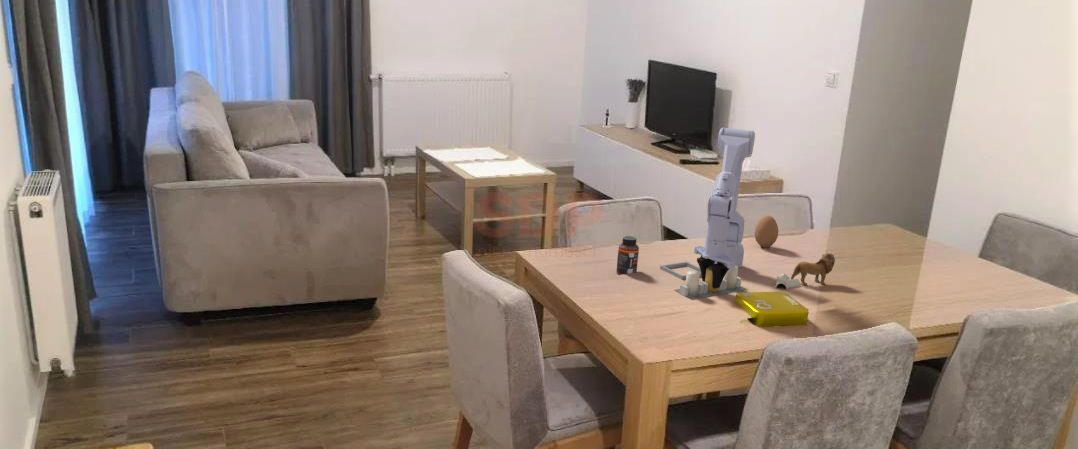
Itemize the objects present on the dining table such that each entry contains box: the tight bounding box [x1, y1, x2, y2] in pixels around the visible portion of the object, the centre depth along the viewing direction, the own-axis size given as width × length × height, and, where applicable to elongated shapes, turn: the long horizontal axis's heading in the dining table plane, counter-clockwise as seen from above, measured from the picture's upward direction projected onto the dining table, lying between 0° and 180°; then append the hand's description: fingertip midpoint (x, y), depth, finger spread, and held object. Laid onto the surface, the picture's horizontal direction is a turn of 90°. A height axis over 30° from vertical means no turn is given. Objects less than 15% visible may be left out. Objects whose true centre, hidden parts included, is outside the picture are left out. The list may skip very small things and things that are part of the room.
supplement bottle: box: [616, 235, 640, 276], centre depth 251 cm, size 6×6×11 cm
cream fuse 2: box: [723, 265, 739, 289], centre depth 242 cm, size 4×4×6 cm
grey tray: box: [659, 261, 702, 280], centre depth 253 cm, size 10×10×2 cm
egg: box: [754, 215, 779, 249], centre depth 286 cm, size 8×8×11 cm
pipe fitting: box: [774, 273, 802, 291], centre depth 247 cm, size 8×4×7 cm
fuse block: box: [673, 275, 747, 301], centre depth 239 cm, size 20×8×4 cm, turn 121°
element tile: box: [734, 291, 809, 328], centre depth 227 cm, size 15×15×5 cm
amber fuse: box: [705, 266, 717, 292], centre depth 238 cm, size 4×4×7 cm
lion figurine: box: [790, 252, 836, 286], centre depth 253 cm, size 15×5×9 cm, turn 111°
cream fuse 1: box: [684, 270, 701, 296], centre depth 235 cm, size 4×4×6 cm
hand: (711, 285), depth 239 cm, fingers closed on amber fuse, 4 cm apart
